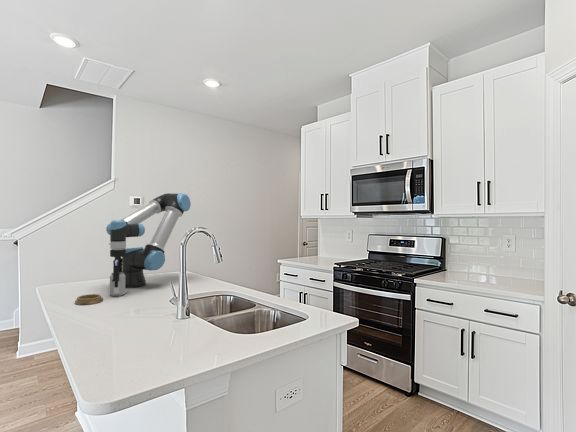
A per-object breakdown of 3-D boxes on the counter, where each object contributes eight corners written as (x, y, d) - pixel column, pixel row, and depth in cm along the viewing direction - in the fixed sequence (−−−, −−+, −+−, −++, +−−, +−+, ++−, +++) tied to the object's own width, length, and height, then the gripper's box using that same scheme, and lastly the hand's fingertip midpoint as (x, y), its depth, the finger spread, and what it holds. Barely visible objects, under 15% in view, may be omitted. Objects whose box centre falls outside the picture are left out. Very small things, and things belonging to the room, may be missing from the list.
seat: (105, 298, 174) (105, 293, 174) (100, 304, 163) (100, 298, 163) (78, 299, 170) (78, 294, 170) (71, 305, 159) (71, 300, 159)
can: (128, 293, 184) (128, 271, 184) (119, 297, 176) (120, 274, 176) (115, 293, 185) (115, 271, 184) (106, 296, 177) (106, 273, 177)
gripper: (113, 247, 189) (112, 287, 189) (106, 251, 169) (106, 296, 170) (128, 246, 191) (127, 287, 191) (123, 251, 172) (122, 295, 172)
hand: (117, 291), depth 180 cm, fingers closed on can, 7 cm apart
